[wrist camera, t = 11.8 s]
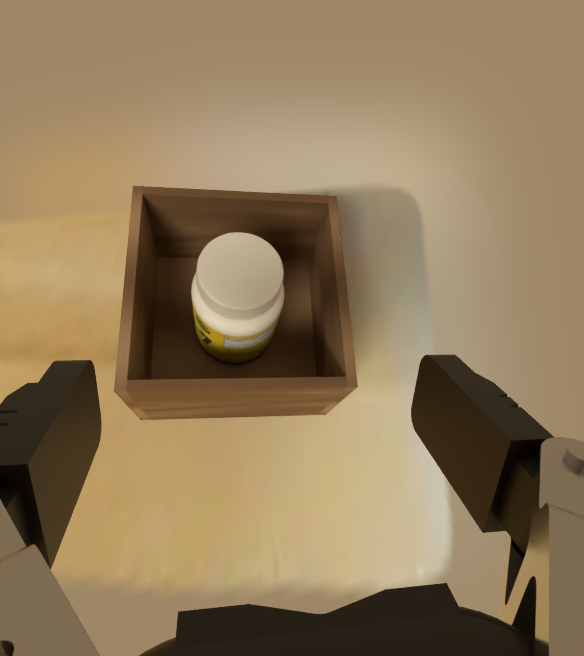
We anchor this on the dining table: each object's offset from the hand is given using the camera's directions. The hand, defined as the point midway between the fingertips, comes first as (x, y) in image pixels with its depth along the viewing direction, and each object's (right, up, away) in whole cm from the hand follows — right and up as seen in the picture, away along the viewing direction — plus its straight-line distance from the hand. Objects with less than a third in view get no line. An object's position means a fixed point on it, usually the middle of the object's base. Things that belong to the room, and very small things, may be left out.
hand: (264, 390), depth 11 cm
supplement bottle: (-3, +1, +17) cm, 17 cm away
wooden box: (-3, +1, +18) cm, 18 cm away
